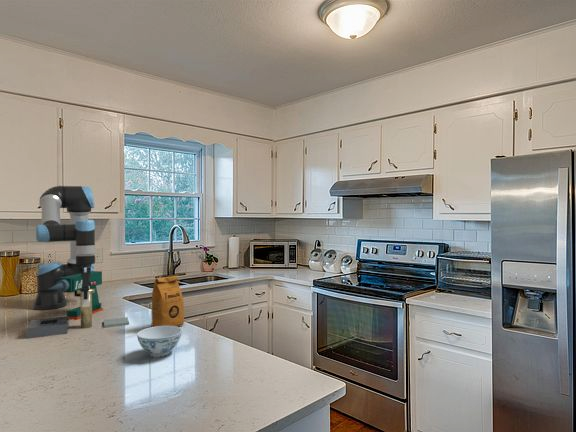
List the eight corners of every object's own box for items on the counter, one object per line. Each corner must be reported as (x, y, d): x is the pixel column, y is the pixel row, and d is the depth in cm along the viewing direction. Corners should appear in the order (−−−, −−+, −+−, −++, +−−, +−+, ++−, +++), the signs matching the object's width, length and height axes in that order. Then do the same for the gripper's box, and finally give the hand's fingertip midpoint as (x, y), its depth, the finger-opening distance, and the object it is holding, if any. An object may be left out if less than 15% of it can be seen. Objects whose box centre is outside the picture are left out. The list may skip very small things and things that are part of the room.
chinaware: (140, 364, 129) (140, 341, 129) (134, 350, 143) (134, 329, 143) (186, 356, 136) (186, 334, 136) (177, 343, 150) (176, 323, 149)
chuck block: (31, 329, 170) (31, 319, 170) (69, 324, 176) (69, 315, 176) (26, 338, 157) (26, 328, 157) (67, 333, 164) (67, 323, 164)
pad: (103, 322, 180) (103, 319, 180) (127, 319, 185) (127, 317, 185) (104, 327, 172) (104, 325, 172) (129, 324, 176) (129, 322, 176)
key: (77, 326, 173) (77, 289, 173) (95, 324, 176) (94, 288, 176) (77, 329, 169) (76, 291, 169) (95, 327, 172) (94, 289, 172)
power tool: (55, 328, 172) (55, 282, 171) (41, 327, 173) (41, 281, 173) (104, 310, 203) (103, 271, 203) (91, 309, 204) (91, 270, 204)
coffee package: (187, 326, 172) (186, 276, 172) (160, 332, 164) (159, 279, 164) (175, 322, 180) (175, 273, 179) (149, 327, 171) (148, 277, 171)
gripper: (76, 253, 182) (77, 299, 182) (74, 258, 160) (75, 310, 160) (95, 252, 185) (95, 297, 185) (95, 257, 163) (95, 308, 163)
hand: (86, 303), depth 173 cm, fingers open, 13 cm apart
